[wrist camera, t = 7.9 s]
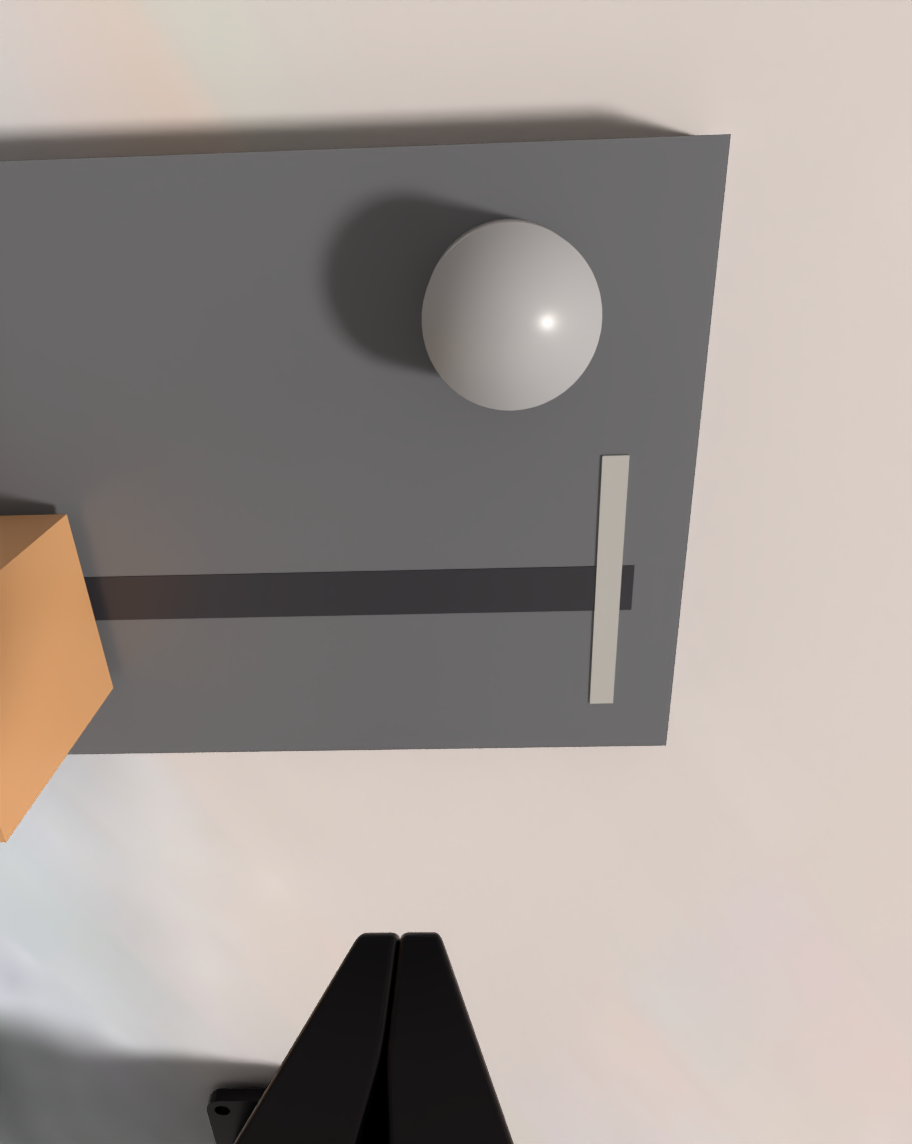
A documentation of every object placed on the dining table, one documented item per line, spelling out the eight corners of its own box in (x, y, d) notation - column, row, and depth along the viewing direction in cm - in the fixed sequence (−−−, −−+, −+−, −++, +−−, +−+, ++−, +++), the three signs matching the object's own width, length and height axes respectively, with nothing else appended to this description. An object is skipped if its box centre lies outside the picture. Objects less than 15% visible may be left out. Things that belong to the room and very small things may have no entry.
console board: (652, 705, 19) (681, 791, 17) (-82, 717, 20) (-169, 802, 17) (705, 138, 14) (761, 129, 11) (-303, 174, 14) (-480, 175, 12)
